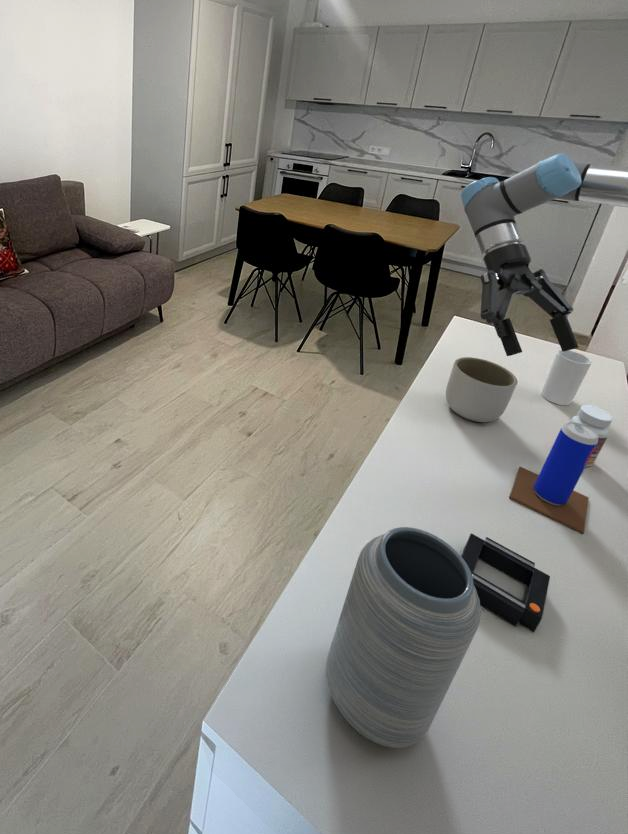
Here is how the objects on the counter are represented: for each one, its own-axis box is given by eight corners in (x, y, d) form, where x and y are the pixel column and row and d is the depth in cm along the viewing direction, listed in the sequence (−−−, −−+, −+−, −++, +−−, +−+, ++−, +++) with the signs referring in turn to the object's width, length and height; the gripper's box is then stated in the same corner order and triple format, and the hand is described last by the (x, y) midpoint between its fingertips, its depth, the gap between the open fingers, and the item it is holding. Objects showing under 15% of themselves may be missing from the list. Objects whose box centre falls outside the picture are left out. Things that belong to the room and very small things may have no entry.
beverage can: (570, 511, 88) (605, 443, 82) (536, 501, 89) (569, 434, 83) (560, 490, 92) (593, 425, 86) (529, 482, 94) (559, 417, 88)
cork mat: (587, 499, 92) (588, 497, 91) (582, 534, 84) (584, 532, 84) (519, 468, 98) (520, 466, 98) (508, 498, 90) (509, 496, 90)
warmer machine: (543, 585, 74) (551, 570, 73) (532, 637, 67) (541, 621, 65) (466, 542, 80) (473, 527, 79) (448, 585, 73) (455, 570, 72)
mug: (573, 410, 119) (593, 367, 114) (540, 399, 122) (558, 357, 117) (569, 391, 127) (587, 350, 122) (538, 381, 130) (555, 341, 125)
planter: (451, 423, 110) (466, 382, 106) (433, 392, 121) (446, 353, 117) (510, 432, 109) (528, 390, 104) (487, 400, 120) (502, 361, 116)
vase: (448, 736, 55) (520, 598, 46) (365, 779, 51) (426, 637, 42) (377, 635, 65) (424, 504, 56) (302, 664, 61) (341, 529, 52)
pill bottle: (589, 454, 104) (612, 409, 99) (595, 472, 99) (620, 426, 94) (554, 443, 106) (575, 399, 102) (559, 460, 101) (581, 414, 97)
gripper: (534, 257, 107) (574, 352, 100) (439, 259, 100) (474, 361, 93) (567, 241, 100) (612, 342, 93) (467, 242, 94) (507, 350, 86)
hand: (543, 352), depth 93 cm, fingers open, 13 cm apart
